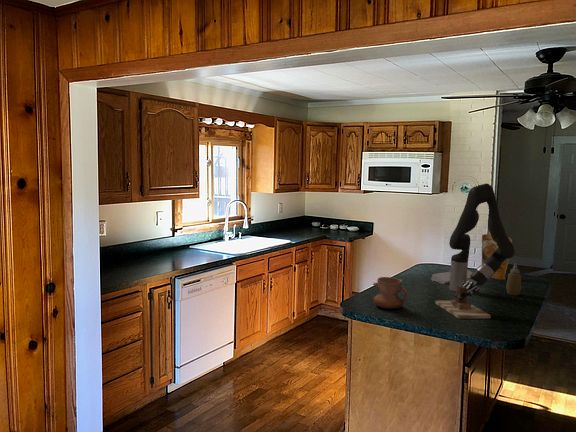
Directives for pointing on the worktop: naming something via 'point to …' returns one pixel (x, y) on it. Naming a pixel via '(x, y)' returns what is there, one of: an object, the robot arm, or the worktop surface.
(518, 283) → the squeeze bottle
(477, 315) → the birch board
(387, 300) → the ceramic jug
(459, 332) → the worktop surface
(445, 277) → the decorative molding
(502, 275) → the pancake mix bag
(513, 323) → the worktop surface
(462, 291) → the block
